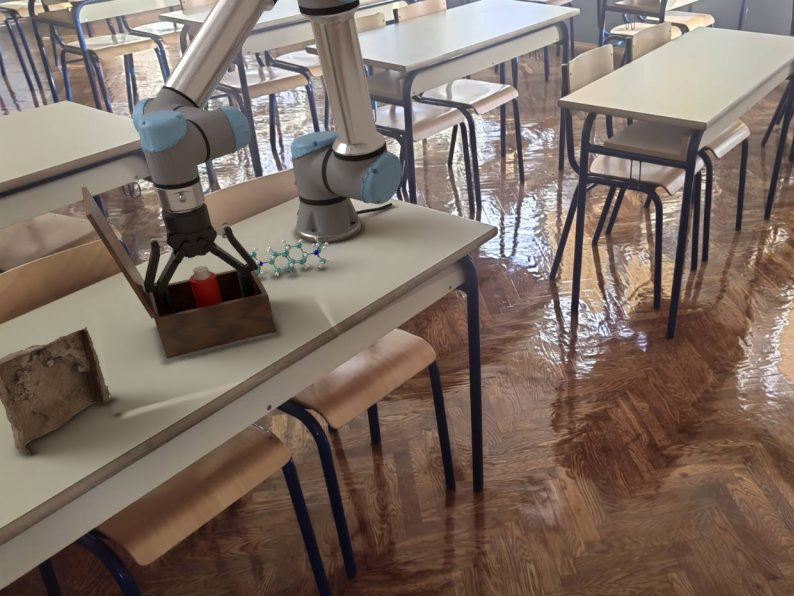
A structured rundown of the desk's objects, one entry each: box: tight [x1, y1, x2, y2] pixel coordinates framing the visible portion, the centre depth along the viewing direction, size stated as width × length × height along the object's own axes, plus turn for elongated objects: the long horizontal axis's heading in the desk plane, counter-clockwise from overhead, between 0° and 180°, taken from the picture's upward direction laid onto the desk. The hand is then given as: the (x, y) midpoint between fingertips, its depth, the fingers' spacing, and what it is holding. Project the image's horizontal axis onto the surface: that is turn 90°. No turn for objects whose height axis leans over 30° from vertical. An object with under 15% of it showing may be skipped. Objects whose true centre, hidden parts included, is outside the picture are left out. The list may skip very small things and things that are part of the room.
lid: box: [81, 186, 156, 319], centre depth 131 cm, size 21×13×1 cm
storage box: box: [149, 269, 277, 359], centre depth 144 cm, size 20×13×9 cm
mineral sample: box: [0, 326, 112, 456], centre depth 119 cm, size 17×4×15 cm, turn 154°
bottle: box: [189, 265, 223, 308], centre depth 142 cm, size 5×5×13 cm
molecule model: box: [249, 237, 332, 276], centre depth 165 cm, size 8×18×7 cm, turn 115°
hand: (212, 312), depth 144 cm, fingers open, 12 cm apart
